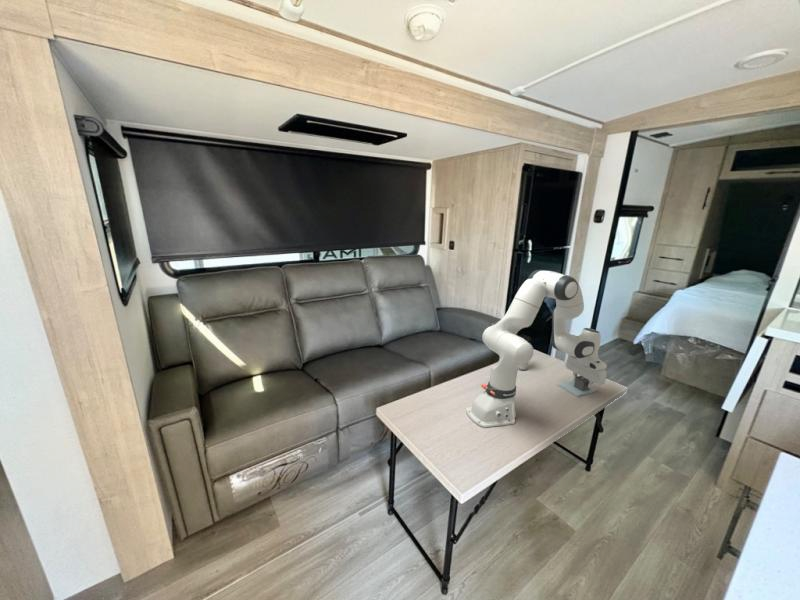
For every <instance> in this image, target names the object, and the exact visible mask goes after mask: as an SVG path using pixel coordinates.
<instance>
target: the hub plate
mask: <svg viewBox="0 0 800 600" xmlns="http://www.w3.org/2000/svg"><path fill="white" fill-rule="evenodd" d="M574 382H575V380H574V378H573V379H570V380H566V381H561V382H558V383H557V384H556V385H557V387H559V388H561V389H563V390H565V391H566V392H568V393H570V394H571V395H573V396H575V397H577V398H579V397H581V396H585V395H588V394H592V393H595V392H598V389H597V388H595V387H592V386H591V388H590V389H588V390H585V391H581V390H579V389H577V388H576V387H574Z"/></svg>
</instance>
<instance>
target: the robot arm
mask: <svg viewBox="0 0 800 600" xmlns="http://www.w3.org/2000/svg"><path fill="white" fill-rule="evenodd" d="M546 297H547V298H550V299H555V305H556V306H555V307H554V308H553V309H552V314H551V327H552V328H551V338H550V344H551V346H552V348H553V349H555V350H558V351H560V352H562V353H565V354H567V359H566V361H565V368H566V369H568V370H570V371H571V372H572V375H573V377H574V378H573V379H574V380H575V377H578V376H582V377H584V378H586V379H588V380H589V382H590V383H587V384H586V387H588V388H591V387H592V385H593V384H596V385H598V386H600V385H604V384H606V379H607V370H606V369H607V368H608V367H607V366H608V365H607V364H606V363H605V362H604V361H603V360H601V358H599V354H598V352H599V350H600V347H601V332H600V331H598V330H596V329H594V328H590V327H584V328H582V330H581V333H580V334H579V335H577V336H576V335H575V334H571V333H569V331H567V330H566V321H569V320H573V319H576V318H578V317H579V316H582V314H583V312H584V308H585V304H584V297H583V291H582V289H581V287H580V284H579V281H578V280H577V279H575V277H572V276H570V275H568V274H567V275H565V274H563V273H559V272H557V271H554V270H553V271H552V270H545V269H536V270H534V271H532V272H531V273H530V274H529V275H528V277H527V279H526V280H525V281H524V282H523V283H522V284H521V286H520V287H519V288H518V290H517V292H516V293H515V295H514V298H513V299H512V302H511V303H510V305H509V307H508V310H507V311H506V313H505V314H504V315H503V317H502V318H501V319H499V320H498V321H497V322H496V323H495V324H493V325H490V326H488V327H487V328H485V329H484V331H483V333H482V338H481V339H482V342H483V344H485V346H486V347H487V348H488V349H489V350H491V351H493V352H494V353H496V354H497V355H498V356H499V360H498V361H496V362H495V363H493V364H492V365H491V367H490V373H489V381H488V383H487V384H485V383H482V384H481V385H480V386H481V389H482V388H483V391H482V392H481V393H480V394H479V395H477V396H476V397H475V398H474V399H473V401H472V404H471V406H468V407H467V408H466V409H465V410H466V411H465V413H466V415H467V416H468V418H469V419H470V420H471V421H472V422H473V423H475V424H476V425H478V426H479V427H481V428H484V429H485V428H491V427H499V426H500V427H501V426H507V425H508V426H509V425H514V424H515V423H516V417H517V411H516V408H515V406H516V405H515V403H516V402H515V397H516V392H517V385H516V384H517V377H518V372H519V371H520V370H519V368H520V366H522V365H524V364H526V363H528V364H529V362H530V361H531V360H532V359H533V356H534V347H533V345H532V344H531V343H530V344H529V343H528V342H527V341H526V340H525V339H523V338H521V337H520V335H517V334H518V333H519V331H521V330H522V329H525V328H529V327H531V325H533V323H534V320H535V319H536V317H537V314H538V313H539V311H540V308H541V306H542V304H543V301H544V298H546Z"/></svg>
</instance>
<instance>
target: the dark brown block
mask: <svg viewBox="0 0 800 600" xmlns="http://www.w3.org/2000/svg"><path fill="white" fill-rule="evenodd" d="M587 383H590V382H589V380H588V379H586V378H584V377H582V376H580V375H578V377H575V382H574V387H576V388H577V389H579V390H581V391H585V390H588V389H590V388H588V387H586V384H587Z"/></svg>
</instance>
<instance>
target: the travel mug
mask: <svg viewBox="0 0 800 600" xmlns="http://www.w3.org/2000/svg"><path fill="white" fill-rule="evenodd" d="M519 337H521V338H523V339H525V340H526V341H527V342H528V343H529V344H530V345H531V343H532V342H531V340H532V338H531V336H529V335H527V334H521V335H519ZM528 366H529V362H528V363H526V364H524V365H522V366H520V368H519V370H518V371H520V372H521V371H523V372H524V371H528Z"/></svg>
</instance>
